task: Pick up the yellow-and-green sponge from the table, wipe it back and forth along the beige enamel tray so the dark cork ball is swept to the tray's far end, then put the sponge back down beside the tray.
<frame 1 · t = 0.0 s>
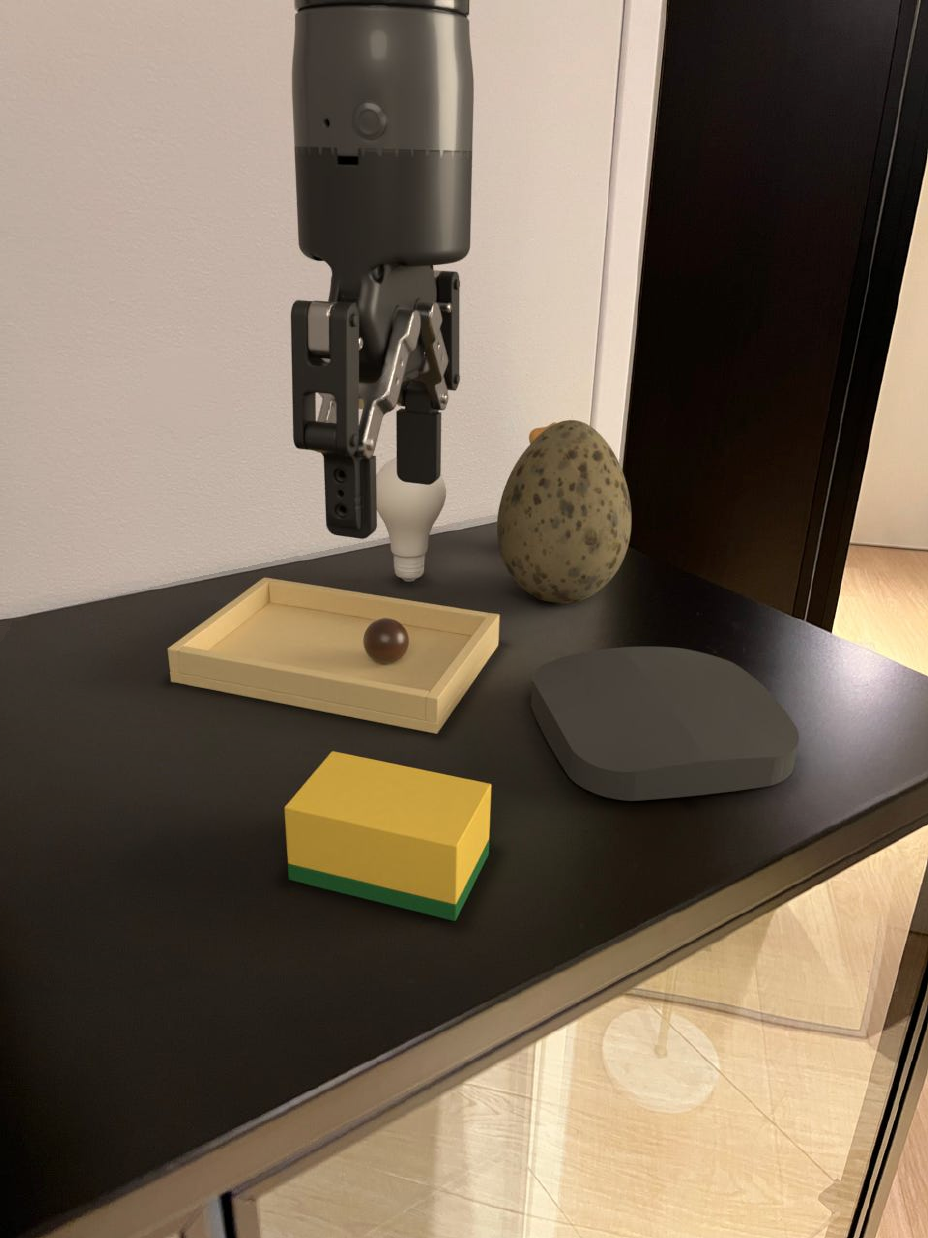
hand: (387, 506, 50), 18 cm above the table, tool pointing down, fingers open, 8 cm apart
decorative egg: (558, 600, 85), on the table
lightbulb: (409, 582, 88), on the table
ball: (386, 640, 71), point 2 cm above the table, touching tray
figurine: (555, 551, 95), on the table
tray: (341, 663, 73), on the table
media streaming box: (655, 738, 65), on the table
sponge: (390, 867, 53), on the table
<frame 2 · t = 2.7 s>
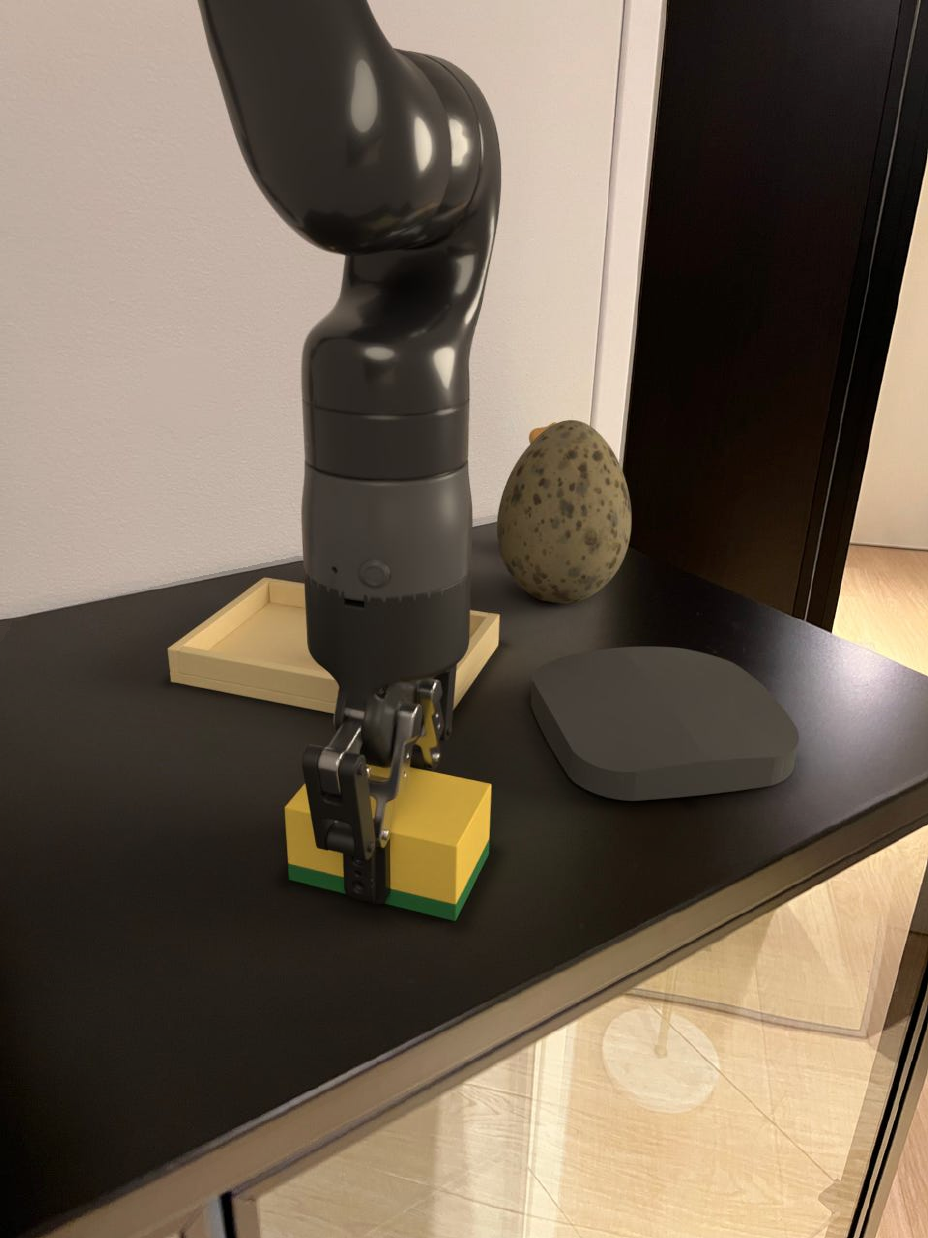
hand: (391, 859, 53), 1 cm above the table, tool pointing down, fingers closed on sponge, 5 cm apart
sponge: (390, 867, 53), on the table, touching gripper
everything else where it was.
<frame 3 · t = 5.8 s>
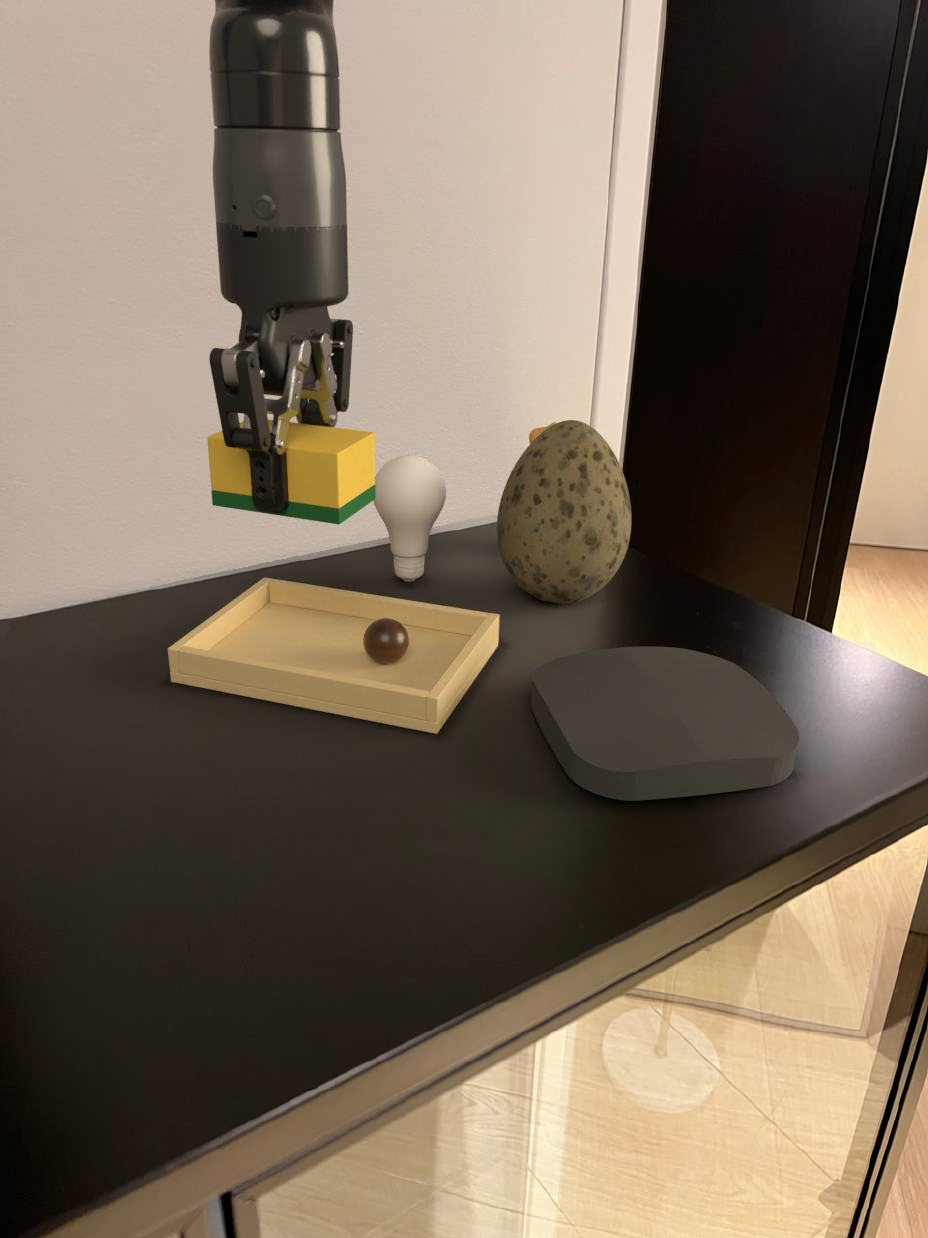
hand: (294, 494, 66), 13 cm above the table, tool pointing down, fingers closed on sponge, 5 cm apart
sponge: (295, 502, 66), point 13 cm above the table, touching gripper
everything else where it was.
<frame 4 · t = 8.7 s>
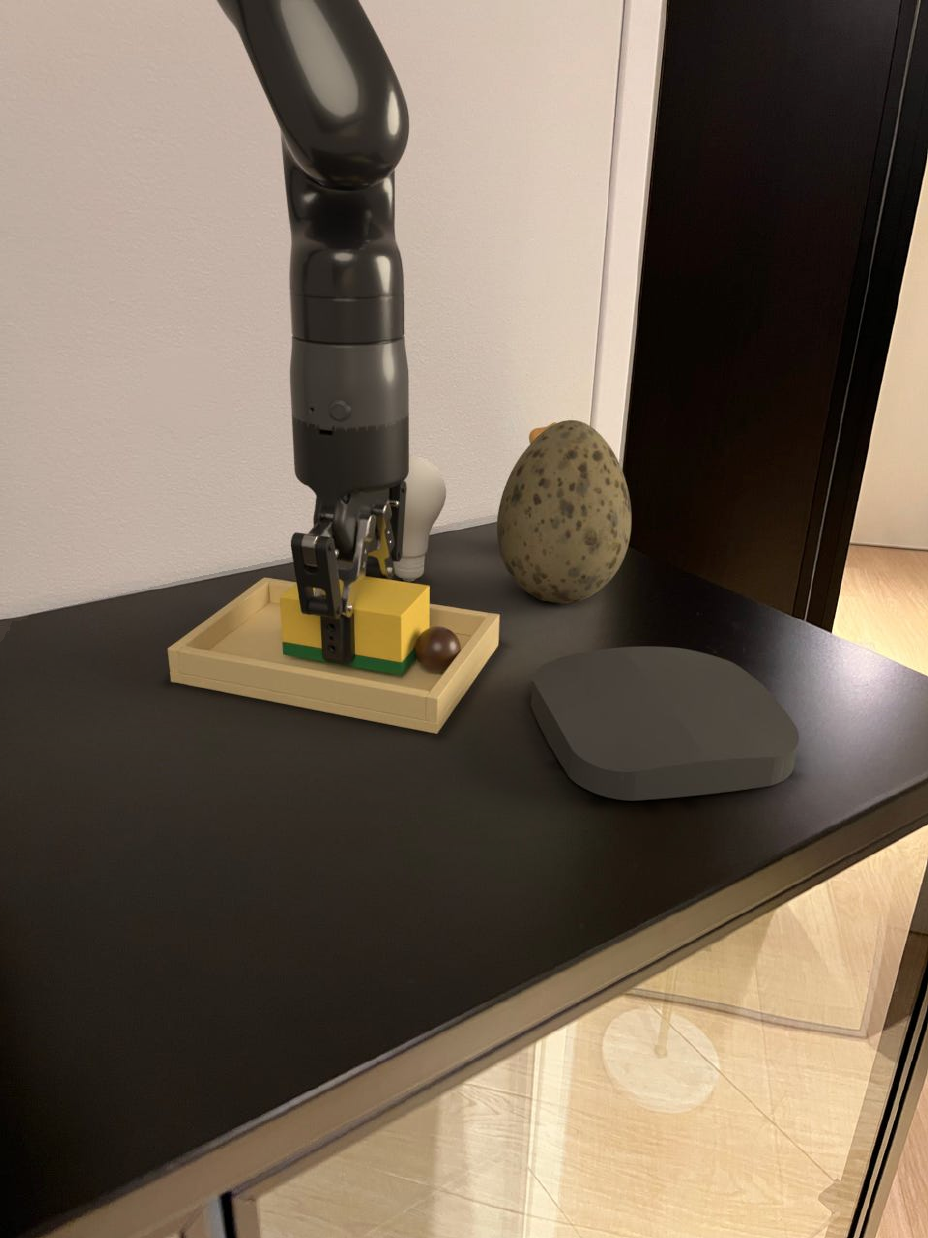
hand: (356, 642, 72), 2 cm above the table, tool pointing down, fingers closed on sponge, 5 cm apart
ball: (437, 649, 70), point 2 cm above the table, tilted 136°, touching tray
sponge: (357, 648, 73), point 1 cm above the table, touching gripper
everything else where it was.
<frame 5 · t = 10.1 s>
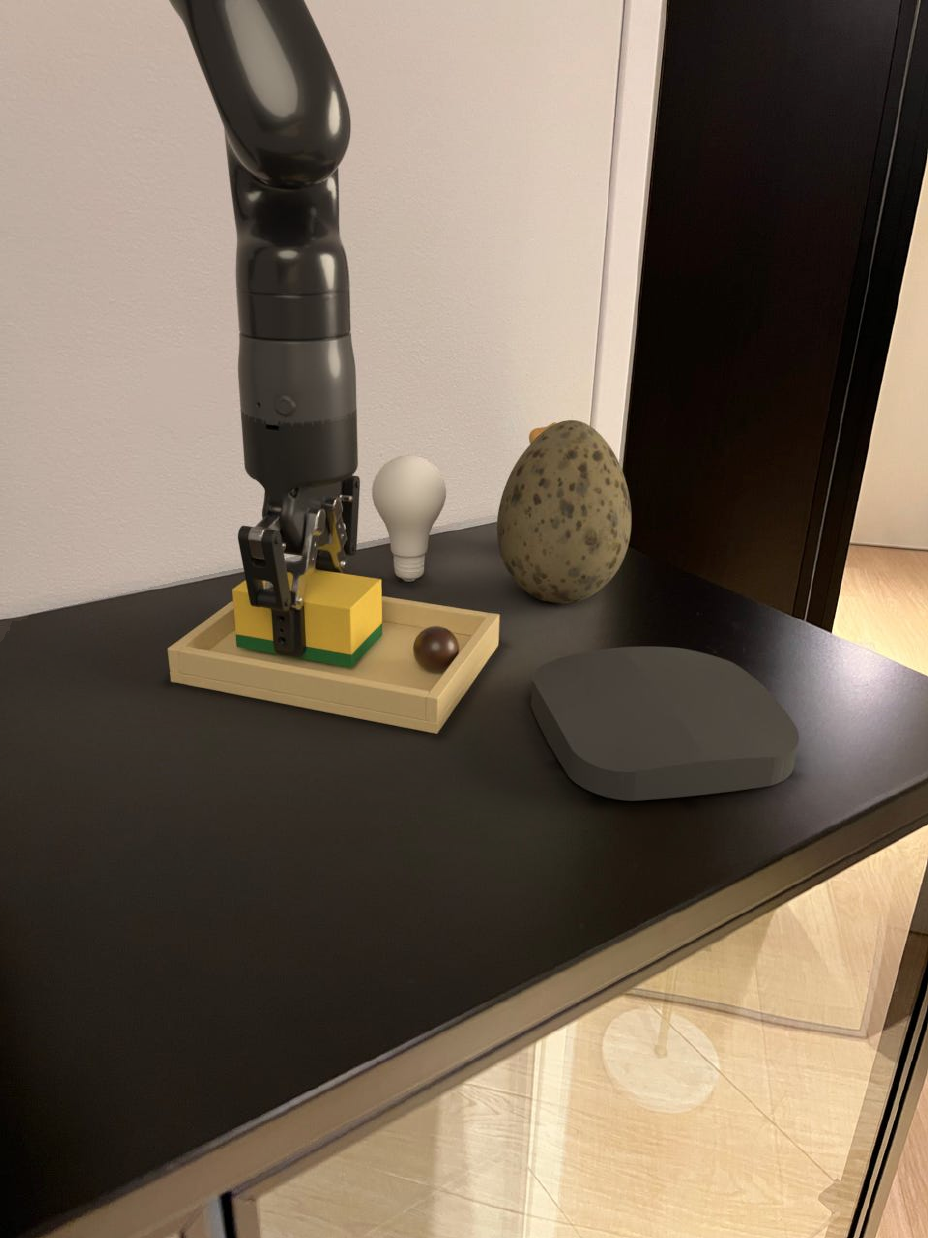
hand: (309, 634, 73), 2 cm above the table, tool pointing down, fingers closed on sponge, 5 cm apart
sponge: (310, 641, 74), point 1 cm above the table, touching gripper
everything else where it was.
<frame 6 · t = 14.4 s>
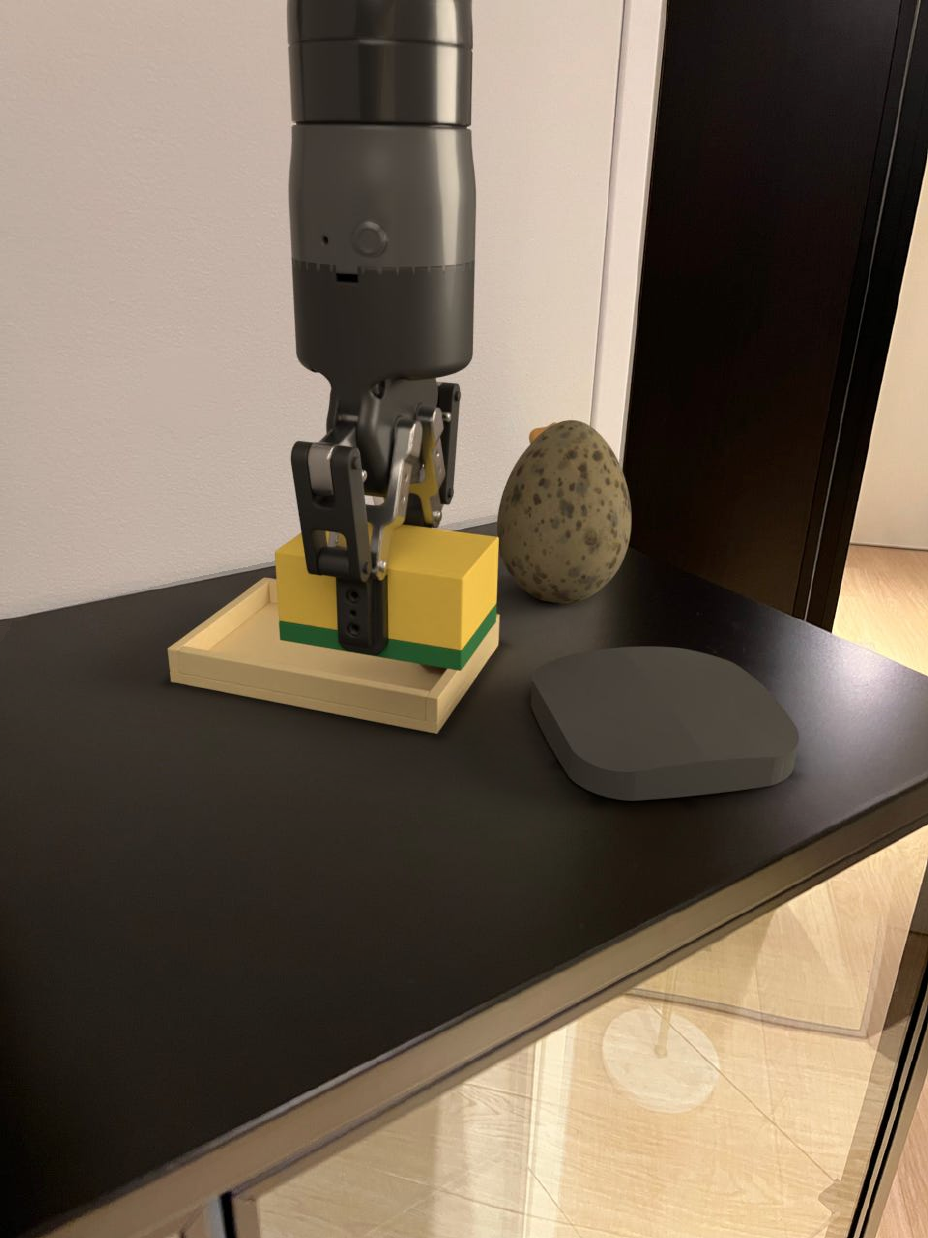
hand: (388, 621, 49), 13 cm above the table, tool pointing down, fingers closed on sponge, 5 cm apart
sponge: (390, 631, 49), point 13 cm above the table, touching gripper
everything else where it was.
when the fingers open (0 cm above the table, at t = 17.8 s): sponge stays where it is, on the table.
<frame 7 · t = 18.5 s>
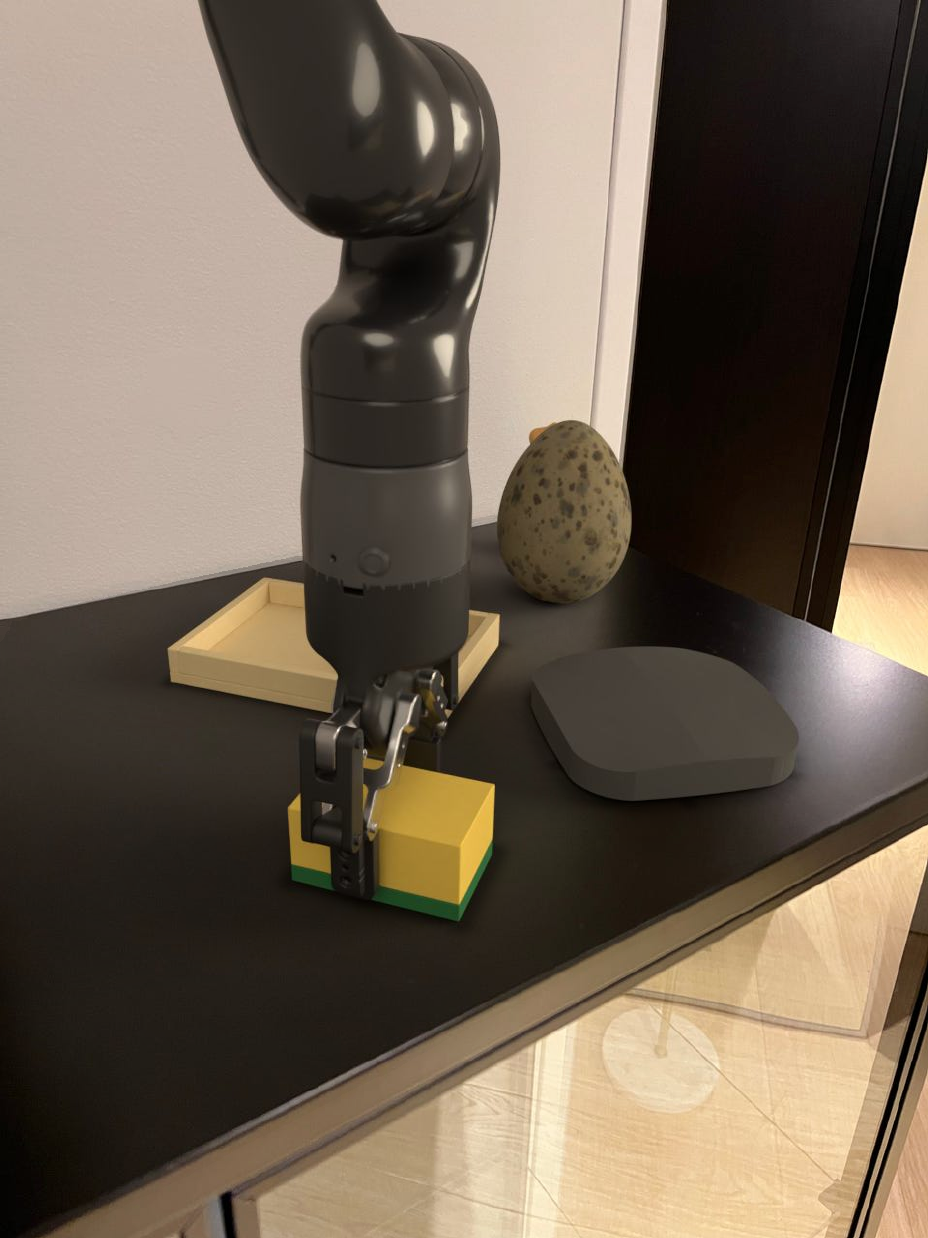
hand: (389, 840, 52), 2 cm above the table, tool pointing down, fingers open, 8 cm apart
sponge: (394, 867, 53), on the table
everything else where it was.
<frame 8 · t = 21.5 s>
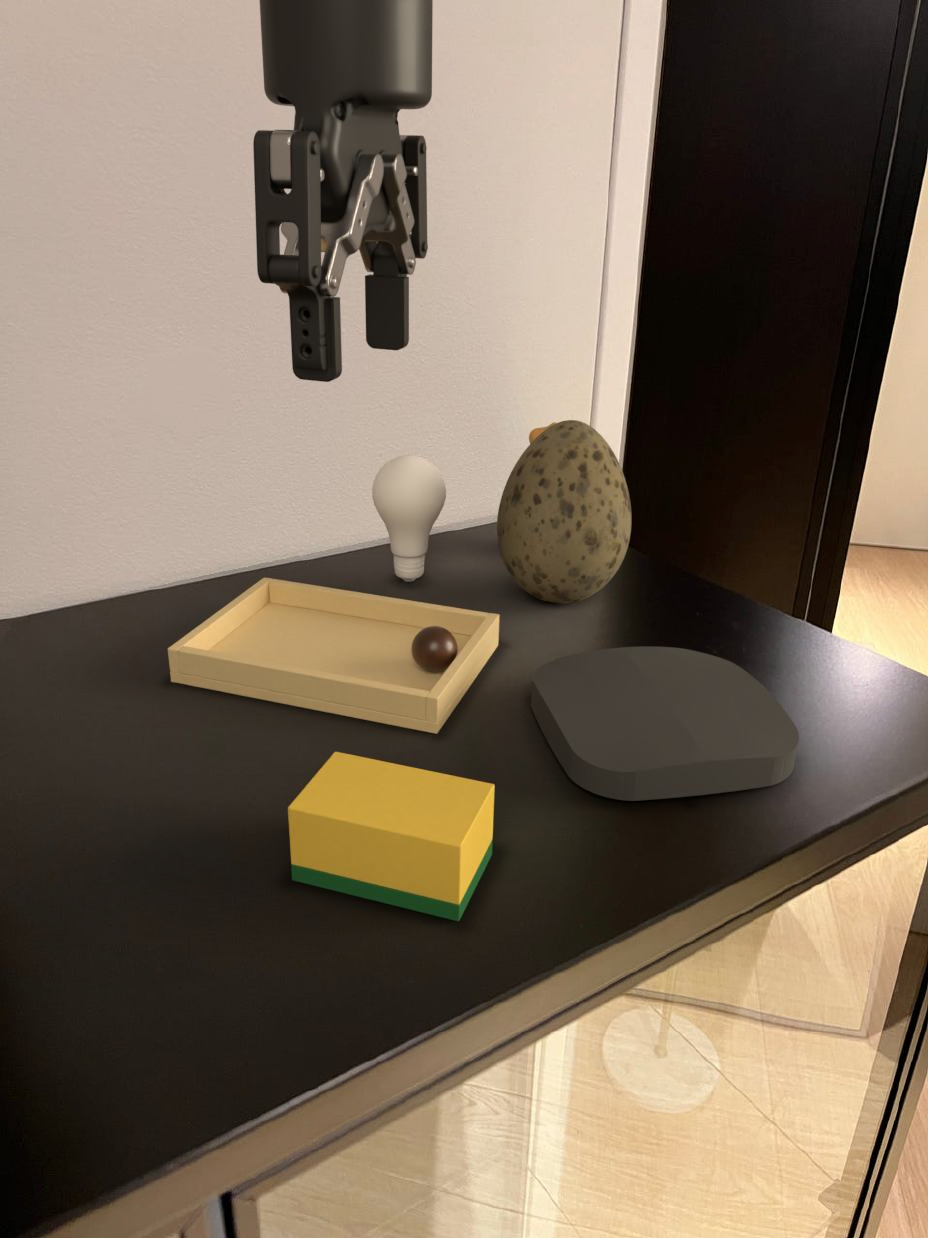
hand: (354, 362, 51), 24 cm above the table, tool pointing down, fingers open, 8 cm apart
nothing on the table moved.
at the end: ball inside the target area in the tray (0.3 cm from its centre), point 2.4 cm above the tray's base; sponge inside the target area (0.2 cm from its centre), on the table; the gripper is holding nothing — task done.
